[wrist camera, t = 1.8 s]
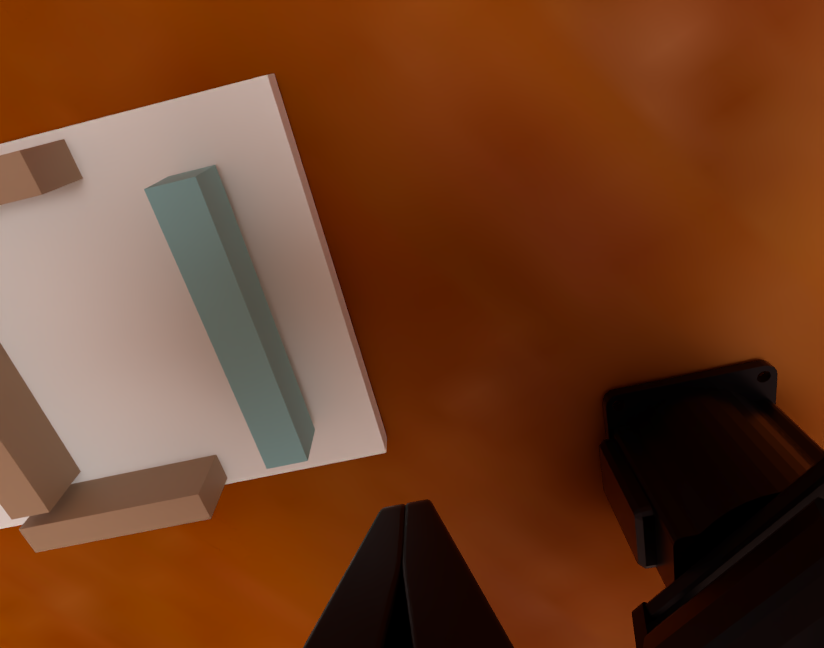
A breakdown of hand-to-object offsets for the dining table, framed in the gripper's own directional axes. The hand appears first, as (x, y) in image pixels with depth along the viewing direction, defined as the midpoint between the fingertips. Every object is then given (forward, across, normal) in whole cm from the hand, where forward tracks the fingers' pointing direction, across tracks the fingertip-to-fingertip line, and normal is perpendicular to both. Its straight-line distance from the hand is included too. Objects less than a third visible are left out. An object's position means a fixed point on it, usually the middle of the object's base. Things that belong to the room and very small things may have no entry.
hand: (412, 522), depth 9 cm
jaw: (+11, +5, 0) cm, 12 cm away
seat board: (+12, +12, 0) cm, 17 cm away
